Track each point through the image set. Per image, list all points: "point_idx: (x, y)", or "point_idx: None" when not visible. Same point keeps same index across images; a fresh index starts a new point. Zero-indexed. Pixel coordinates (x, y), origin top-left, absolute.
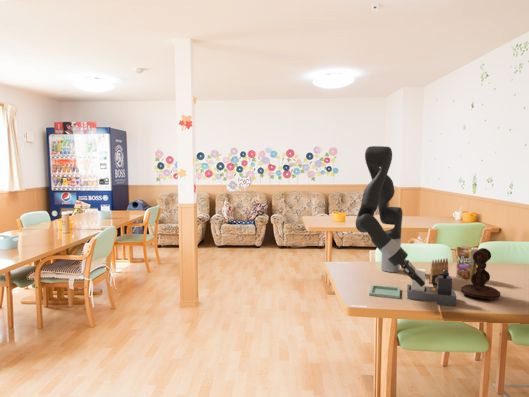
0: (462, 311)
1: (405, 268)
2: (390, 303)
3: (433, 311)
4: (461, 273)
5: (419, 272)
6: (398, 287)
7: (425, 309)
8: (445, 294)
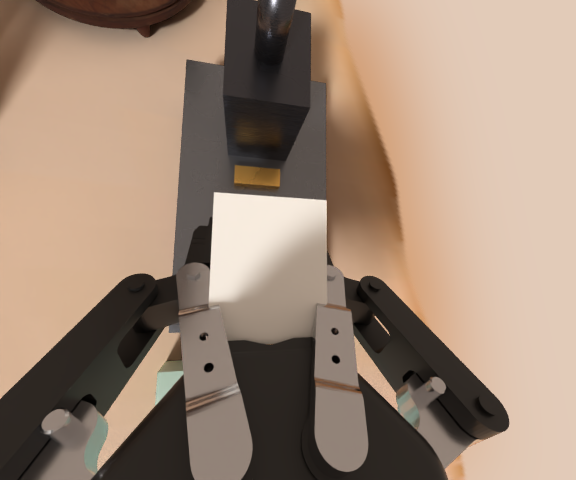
0: (358, 105)
1: (476, 442)
2: None
3: (396, 213)
4: None
5: (320, 259)
6: (158, 382)
7: (385, 241)
8: (309, 128)
